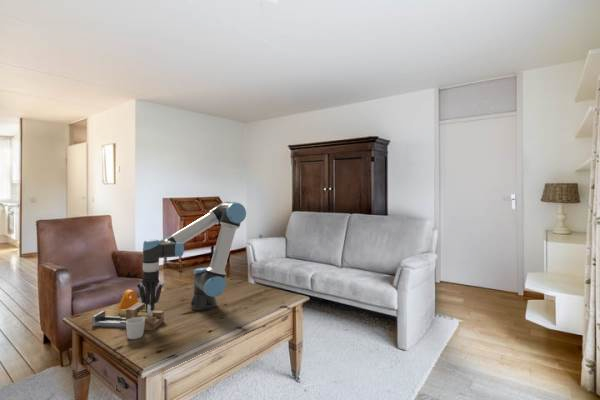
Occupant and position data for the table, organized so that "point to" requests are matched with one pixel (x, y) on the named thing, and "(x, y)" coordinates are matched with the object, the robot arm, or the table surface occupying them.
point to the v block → (108, 321)
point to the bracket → (128, 300)
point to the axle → (139, 313)
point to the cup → (135, 327)
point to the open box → (149, 321)
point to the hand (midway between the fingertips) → (149, 316)
